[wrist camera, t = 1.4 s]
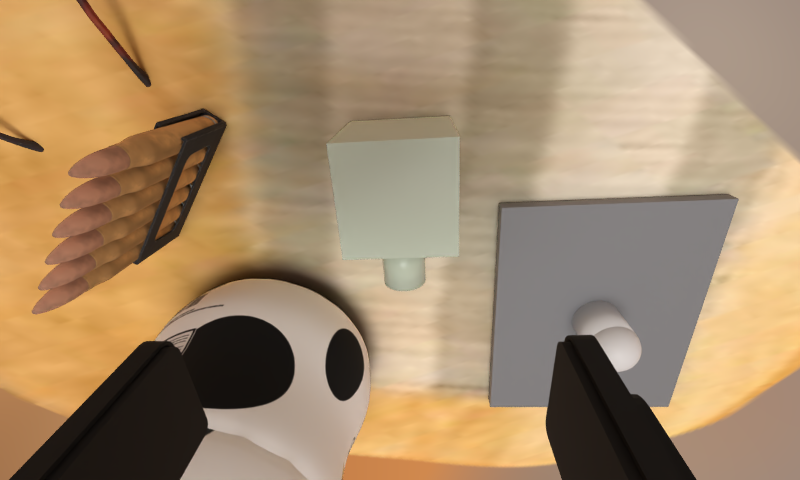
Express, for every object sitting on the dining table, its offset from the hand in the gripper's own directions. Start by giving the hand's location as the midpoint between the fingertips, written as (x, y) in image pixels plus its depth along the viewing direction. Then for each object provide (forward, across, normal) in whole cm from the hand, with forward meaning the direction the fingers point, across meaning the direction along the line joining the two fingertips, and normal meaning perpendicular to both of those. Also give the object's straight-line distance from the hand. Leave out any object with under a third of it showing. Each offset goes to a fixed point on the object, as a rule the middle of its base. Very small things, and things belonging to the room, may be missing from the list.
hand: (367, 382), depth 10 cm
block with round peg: (+20, 0, +1) cm, 20 cm away
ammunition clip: (+20, +16, 0) cm, 26 cm away
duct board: (+20, -15, +13) cm, 28 cm away
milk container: (+20, +12, +16) cm, 28 cm away
